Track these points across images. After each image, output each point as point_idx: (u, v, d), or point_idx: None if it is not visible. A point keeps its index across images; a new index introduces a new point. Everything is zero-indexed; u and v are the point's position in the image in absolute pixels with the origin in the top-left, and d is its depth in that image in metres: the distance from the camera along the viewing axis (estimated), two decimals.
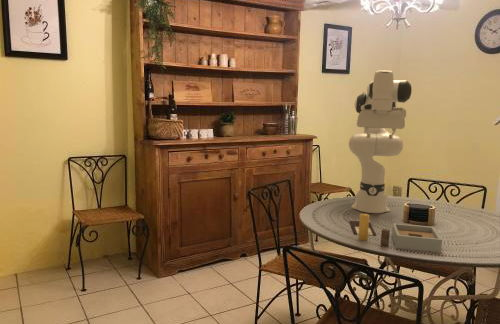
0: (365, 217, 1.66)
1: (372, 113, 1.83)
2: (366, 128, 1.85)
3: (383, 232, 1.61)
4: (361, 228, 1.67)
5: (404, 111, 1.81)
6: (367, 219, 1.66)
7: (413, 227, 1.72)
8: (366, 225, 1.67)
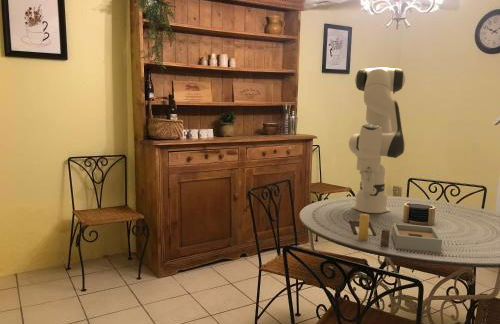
0: (365, 217, 1.66)
1: None
2: None
3: (383, 232, 1.61)
4: (361, 228, 1.67)
5: (368, 173, 1.55)
6: (367, 219, 1.66)
7: (413, 227, 1.72)
8: (366, 225, 1.67)
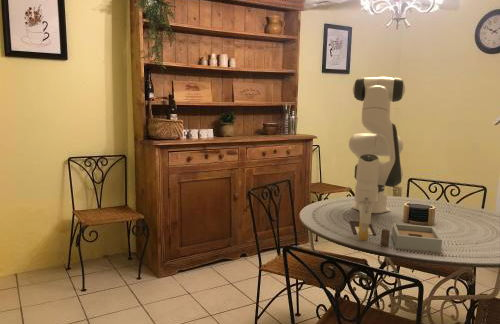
0: None
1: None
2: None
3: (383, 232, 1.61)
4: (361, 228, 1.67)
5: (365, 205, 1.57)
6: None
7: (413, 227, 1.72)
8: None
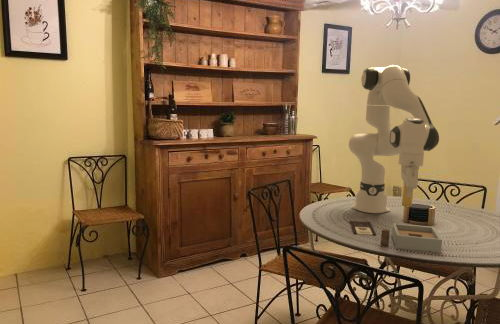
0: None
1: None
2: None
3: (383, 232, 1.61)
4: (405, 194, 1.62)
5: (412, 168, 1.52)
6: None
7: (413, 227, 1.72)
8: None
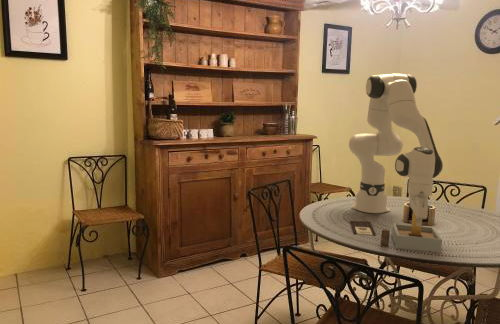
0: None
1: None
2: None
3: (383, 232, 1.61)
4: (414, 223, 1.63)
5: (422, 199, 1.53)
6: None
7: None
8: None
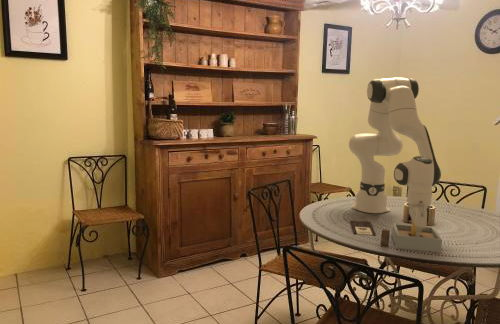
0: None
1: None
2: None
3: (383, 232, 1.61)
4: (413, 232, 1.64)
5: (421, 208, 1.54)
6: None
7: None
8: None
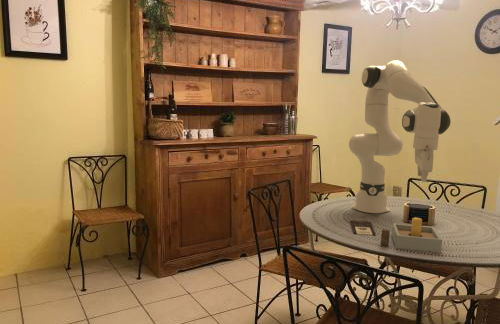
0: (418, 221, 1.63)
1: None
2: None
3: (383, 232, 1.61)
4: (413, 232, 1.64)
5: (428, 152, 1.54)
6: (420, 223, 1.63)
7: None
8: (419, 229, 1.63)
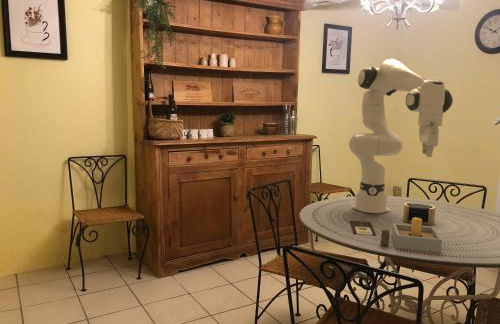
0: (418, 221, 1.63)
1: None
2: (422, 143, 1.74)
3: (383, 232, 1.61)
4: (413, 232, 1.64)
5: (433, 126, 1.58)
6: (420, 223, 1.63)
7: None
8: (419, 229, 1.63)
